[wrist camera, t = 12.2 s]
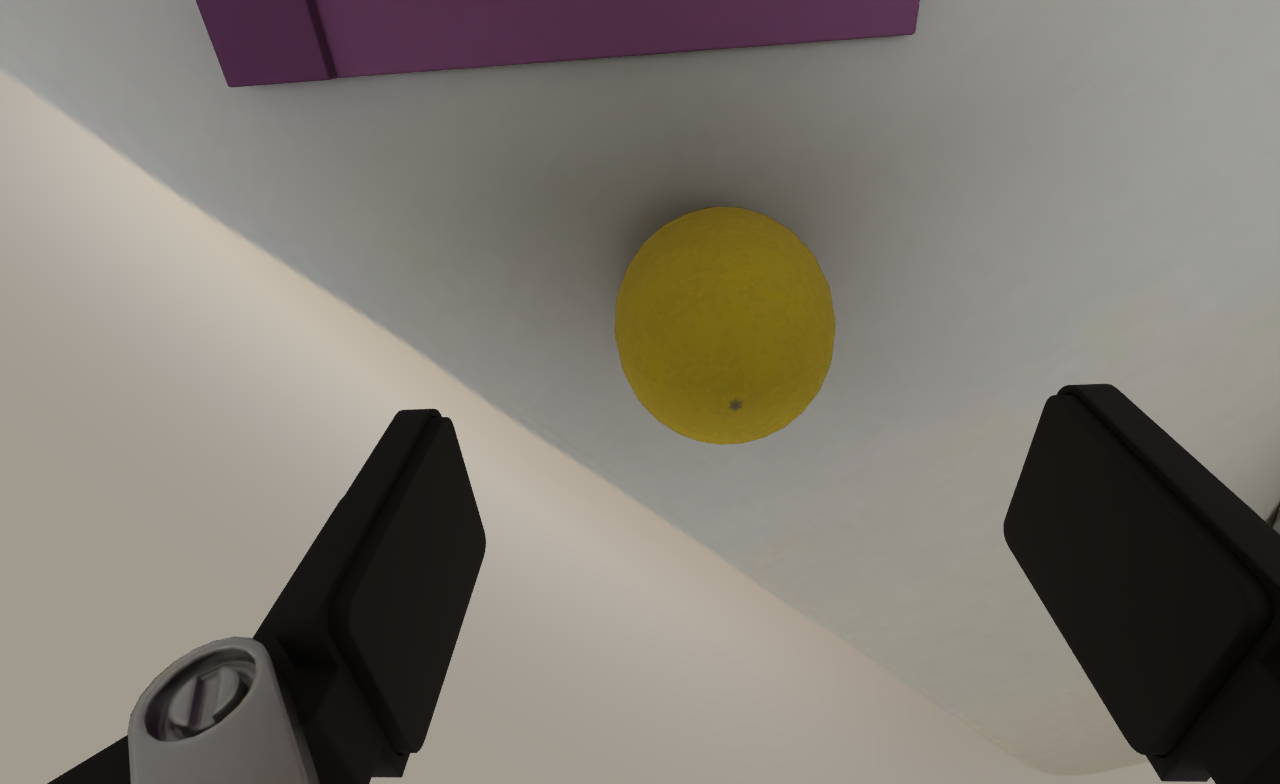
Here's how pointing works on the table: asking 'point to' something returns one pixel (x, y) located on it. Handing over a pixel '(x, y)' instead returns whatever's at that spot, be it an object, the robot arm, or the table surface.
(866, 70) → the table surface
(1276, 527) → the coffeepot
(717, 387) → the lemon
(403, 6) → the purple notebook
